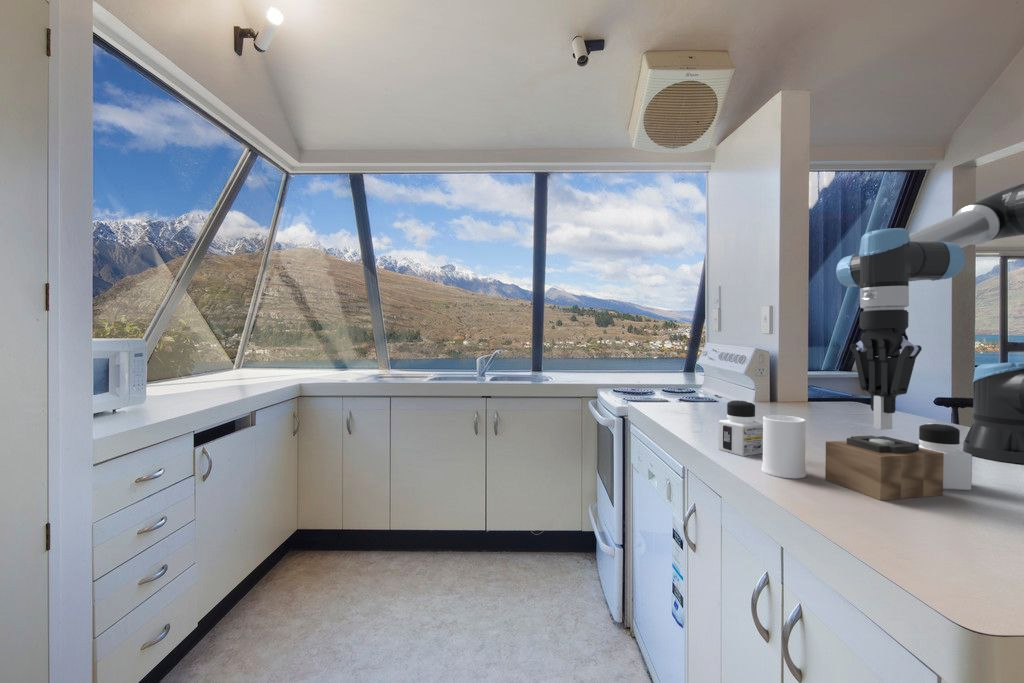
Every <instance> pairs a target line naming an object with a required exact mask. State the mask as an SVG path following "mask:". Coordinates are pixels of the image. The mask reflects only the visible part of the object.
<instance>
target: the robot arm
mask: <svg viewBox="0 0 1024 683" xmlns="http://www.w3.org/2000/svg"><path fill="white" fill-rule="evenodd" d="M1018 236H1024V183H1020V184H1018V185H1014V186H1010V187H1007V188H1005V189H1002V190H1000V191H998V192H996V193H994V194H991V195H989V196H987V197H984V198H982V199H980V200H977V201H975V202H973V203H971V204H969V205H966V206H964V207H962V208H960V209H959V210H957V212H956V213H955V214H954V215H953V216H951V217H948V218H946V219H943V220H942V221H941V220H940V221H938V222H936V223H933V224H931V225H928V226H926V227H924V228H921V229H919V230H916V231H915V232H914V231H913V232H912V233H910V231H909V230H908V229H906V228H903V227H896V228H895V227H894V228H882V229H876V230H872V231H868V232H866V233H864V234H863V235H862V236H861V237H860V238H861V239H860V245H859V246H860V247H859V253H853V254H851V255H848V256H844V257H842V259H840V260H839V262H838V263H837V265H836V269H835V273H836V277H837V280H838V281H839V283H840V284H841V285H843V286H844V287H848V288H855V287H856V288H857V287H858V288H859V301H860V302H859V303H860V304H859V307H860V308H861V309H863V310H861V311H860V312H859V328H860V329H862V334H861V336H860V340H859V341H858V342H855V343H851V344H850V345H849V349H850V351H851V352H852V354H853V357H854V362H855V366H856V372H857V376H858V381H859V386H860V390H862V391H864V392H865V391H866V392H867V393H869V394H870V408H871V411H873V429H876V430H881V431H883V430H893V414H895V413H896V398H897V396H901V395H906V394H907V393H908V389H909V386H910V382H911V378H912V375H913V371H914V366H915V363H916V359H917V357H918V356H919V354H920V353H921V352H922V350H923V348H922V346H921V345H919V344H918V345H916V344H914V343H912V342H910V341H909V337H908V335H907V331H906V330H908V328H909V321H910V320H909V314H910V313H909V311H908V310H907V309H905V308H908V307H909V305H910V300H909V299H910V296H909V295H910V292H909V291H910V290H909V287H910V286H909V283H910V282H915V281H929V280H930V281H933V282H934V281H939V280H947V279H951V278H953V277H955V276H957V275H958V274H960V272H961V271H962V270H963V268H964V265H965V263H966V254H965V251H964V250H963V248H964V247H966V246H969V245H974V246H976V245H982V244H986V243H987V242H990V241H994V240H998V239H999V240H1000V239H1005V238H1011V237H1018ZM972 383H973V403H972V404H973V406H972V407H973V410H972V411H973V412H972V413H973V415H972V416H973V420H972V424H971V425H970V428H969V430H968V432H967V434H966V437H965V438H964V440H963V443H962V451H963V452H966V453H969V454H971V455H972V456H974V457H979V458H982V459H983V458H984V459H987V460H992V461H1000V462H1004V463H1005V462H1007V463H1013V464H1023V465H1024V361H1022V362H1002V363H1001V362H1000V363H999V362H998V363H997V362H995V363H983V364H979V365H977V367H975V369H974V375H973V380H972Z"/></svg>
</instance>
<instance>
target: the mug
mask: <svg viewBox="0 0 1024 683" xmlns="http://www.w3.org/2000/svg"><path fill="white" fill-rule="evenodd" d="M806 422H807V421H806V419H805V418H802V417H798V416H792V415H791V416H790V415H784V414H783V415H781V414H779V415H778V414H769V415H764V416H763V417H762V423H763V453H762V465H761V472H763V473H765V474H766V475H769V476H771V477H772V476H773V477H777V478H783V479H794V480H796V479H803V478H806V477H807V472H806V471H807V470H806V428H807V427H806Z"/></svg>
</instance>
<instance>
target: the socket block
mask: <svg viewBox="0 0 1024 683" xmlns="http://www.w3.org/2000/svg"><path fill="white" fill-rule="evenodd" d="M869 439H885V440H890V441H894V442H895V444H887V445H883V444H879V443H874V442H870V441H869ZM919 445H920V443H915V442H910V441H906V440H902V439H899V438H893V437H889V436H885V435H881V436H875V435H859V436H858V435H857V436H856V435H854V436H850V437H846V440H831V441H825V467H824V469H825V472H824V473H825V481H827V482H830V483H832V484H836V485H838V486H841V487H843V488H846V489H849V490H852V491H854V492H857V493H859V494H863V495H864V496H867V497H871V498H873V499H876V500H878V501H887V500H891V501H892V500H899V499H914V498H923V497H924V498H925V497H936V496H938V497H939V496H944V489H943V461H944V453H941V452H937V451H933V450H928V449H924V448H920V447H919Z"/></svg>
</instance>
